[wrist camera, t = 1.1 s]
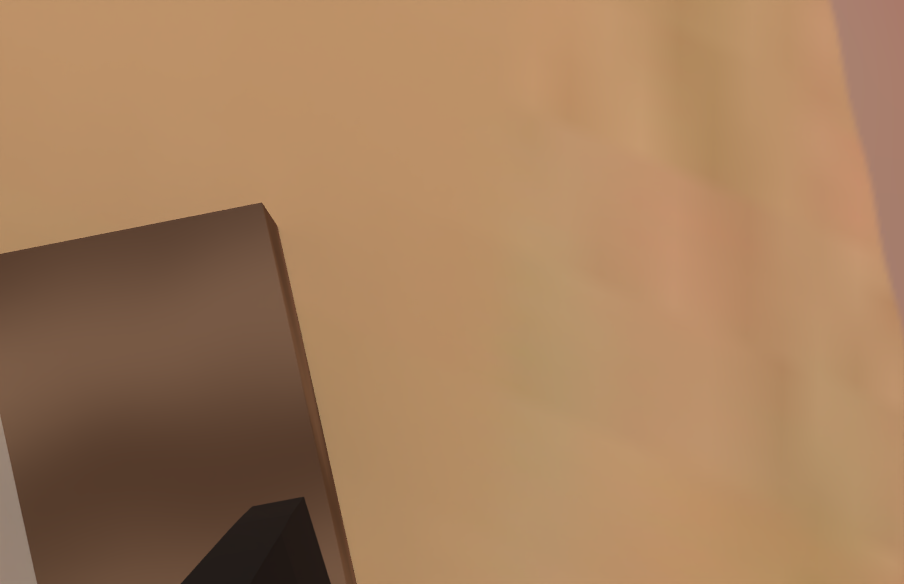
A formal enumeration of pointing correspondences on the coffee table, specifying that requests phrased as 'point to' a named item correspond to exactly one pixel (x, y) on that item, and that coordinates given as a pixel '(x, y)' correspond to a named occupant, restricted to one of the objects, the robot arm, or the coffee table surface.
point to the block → (12, 527)
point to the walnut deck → (158, 398)
